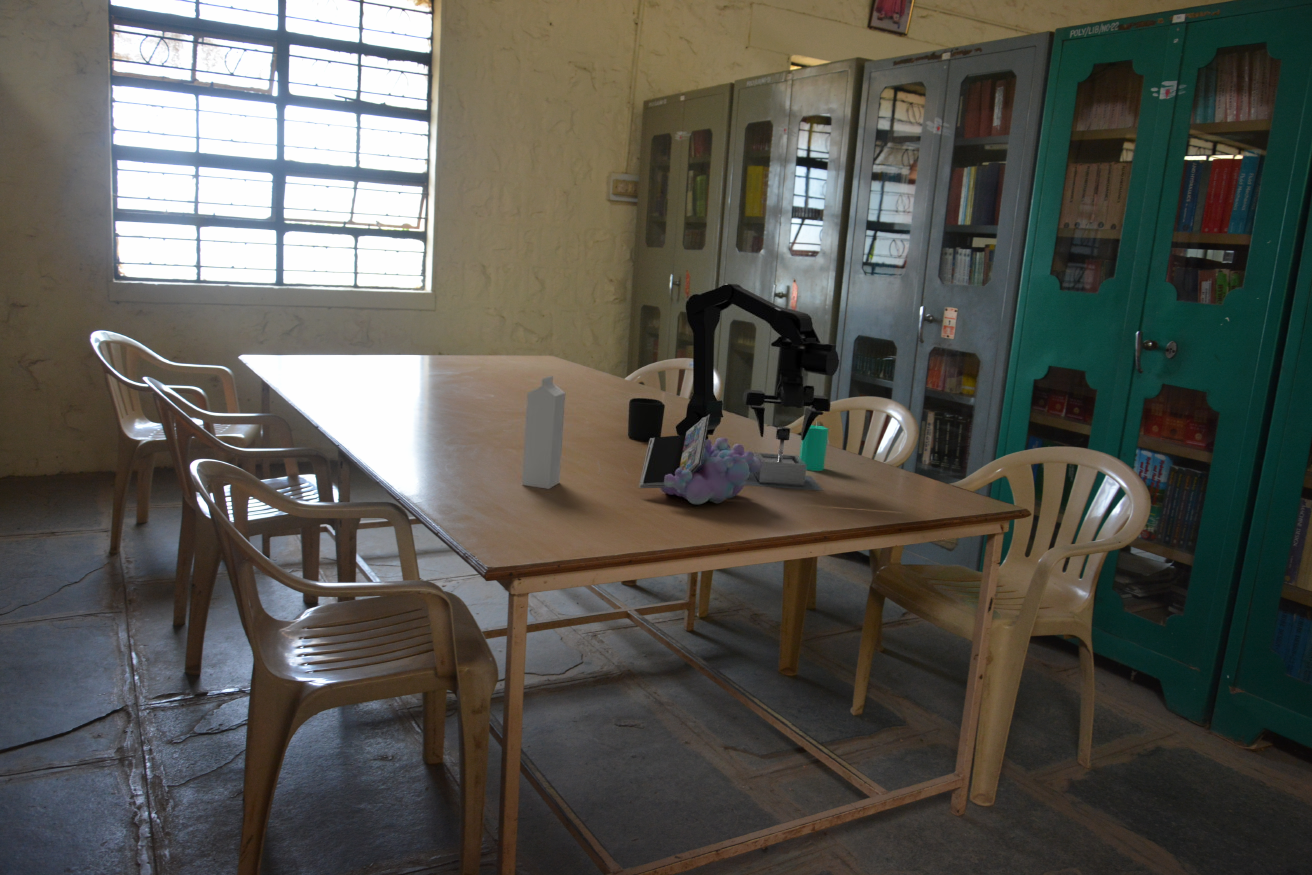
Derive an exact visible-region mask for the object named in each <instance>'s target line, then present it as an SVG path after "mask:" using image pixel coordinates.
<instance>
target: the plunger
mask: <svg viewBox="0 0 1312 875" xmlns="http://www.w3.org/2000/svg"><path fill="white" fill-rule="evenodd" d="M775 435H776V436H775V439H776V440H778V441H779V447H778V449H779V450H778V454H779V456H778V458H766V457H763V458H764V460H765V461H770V462H783V463H795V462H794V461H793V460H792V459H782V456H783V454H784V447H785V446H784V445H785V441H790V435H791V428H790V427H788V426H787V427H786V426H776V432H775Z"/></svg>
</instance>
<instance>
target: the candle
mask: <svg viewBox="0 0 1312 875" xmlns="http://www.w3.org/2000/svg"><path fill="white" fill-rule="evenodd" d="M817 423H818V421H817V420H816V422H815V425H814V424H811V426H810V428H809V430H808V432H807V435H806V437H805V439H804V440H801V445H800V454H799V457H800V458H801V460H802V461H803V462H804V463H805V464H806V465H807V466H806V471H813V472H819V471H820V472H821V471H824V469H825V462H826V454H827V444H828V437H829V436H828V435H829V428H827V427H825V426H823V425H819V426H818V424H817Z"/></svg>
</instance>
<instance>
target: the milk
mask: <svg viewBox="0 0 1312 875" xmlns="http://www.w3.org/2000/svg"><path fill="white" fill-rule="evenodd" d="M553 380H554V376H553V375H550V376H547V377H542V380H541V385H540V386H539V387H537V388H535V389H533V390H531V391H529V392H527V395H526V408H525V410H526V412H525V413H526V414H525V427H524V439H523V440H524V441H523V442H524V444H523V458H522V460H523V461H522V474H521V475H522V476H521V479H522V480H521V486H528V487H533V488H540V489H547V490H549V489H551V488H553V487H554V486H556V485H558V484H559V483H560V478H561V477H560V476H561V461H562V460H561V459H562V450H563V448H562V447H563V435H564V434H563V433H564V432H563V431H564V418H565V404H566V403H565V402H566V392H565V391H564V390H562V389H561V388H560V387H559V386H557V385H556V384H555V383H554V381H553Z"/></svg>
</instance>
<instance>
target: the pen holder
mask: <svg viewBox="0 0 1312 875" xmlns="http://www.w3.org/2000/svg"><path fill="white" fill-rule="evenodd" d="M665 406H666V405H665V404H664V402H662V401H661V400H659V399H655V398H644V397H634V398H631V399H630V400H629V401H628V419H627V420H628V421H627V423H628V424H627V436H628V438H630V439H631V440H634V441H639V442H649V441H650V438H655V437H662V429H663V422H664V417H665V416H664V414H665Z"/></svg>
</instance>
